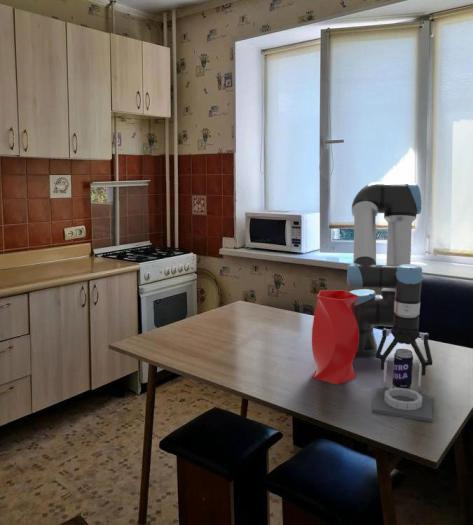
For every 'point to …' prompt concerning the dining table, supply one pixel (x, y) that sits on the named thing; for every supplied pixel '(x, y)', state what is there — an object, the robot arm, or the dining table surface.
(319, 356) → the vase
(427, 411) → the ring seat
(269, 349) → the dining table surface
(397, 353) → the beverage can
